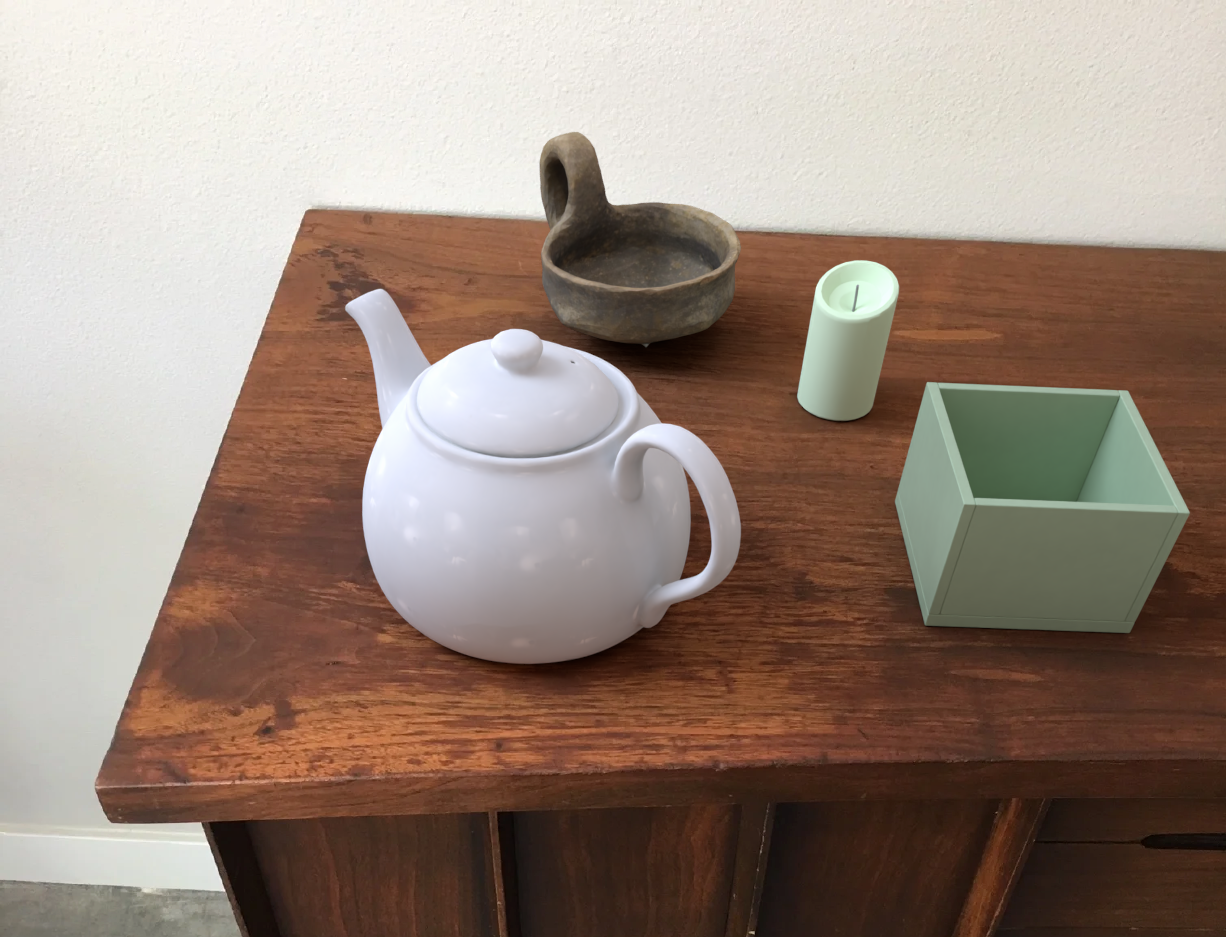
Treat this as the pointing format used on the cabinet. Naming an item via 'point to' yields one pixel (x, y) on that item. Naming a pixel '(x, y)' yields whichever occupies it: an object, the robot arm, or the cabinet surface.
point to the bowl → (628, 255)
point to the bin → (1035, 508)
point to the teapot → (529, 496)
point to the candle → (847, 340)
